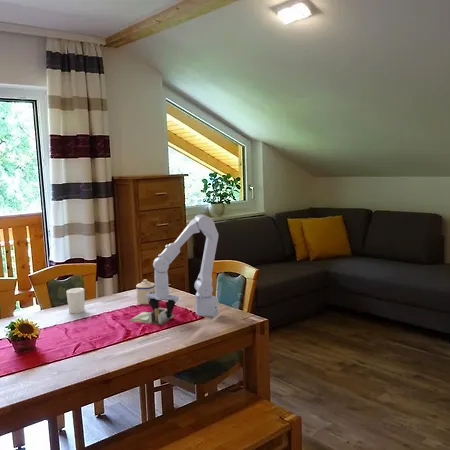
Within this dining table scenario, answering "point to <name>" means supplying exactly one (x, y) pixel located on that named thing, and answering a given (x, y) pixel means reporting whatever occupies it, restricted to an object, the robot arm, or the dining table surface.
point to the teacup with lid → (144, 291)
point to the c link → (159, 316)
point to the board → (144, 317)
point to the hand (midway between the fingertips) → (163, 316)
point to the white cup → (76, 300)
